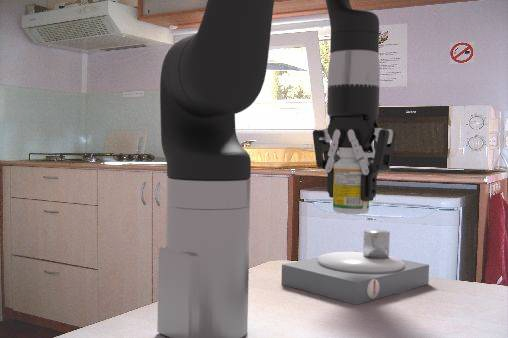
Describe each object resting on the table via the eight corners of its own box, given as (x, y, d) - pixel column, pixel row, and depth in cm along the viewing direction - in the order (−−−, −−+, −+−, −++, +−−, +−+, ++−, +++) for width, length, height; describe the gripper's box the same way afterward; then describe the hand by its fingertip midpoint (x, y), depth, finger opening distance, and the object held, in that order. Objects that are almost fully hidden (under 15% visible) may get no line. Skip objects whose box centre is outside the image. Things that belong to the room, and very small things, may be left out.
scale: (358, 305, 76) (359, 278, 76) (281, 284, 87) (282, 260, 86) (430, 284, 88) (431, 261, 88) (355, 268, 99) (355, 247, 99)
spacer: (379, 260, 88) (379, 234, 88) (357, 256, 91) (358, 231, 91) (394, 257, 91) (394, 232, 90) (373, 253, 94) (373, 228, 93)
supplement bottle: (352, 215, 82) (354, 147, 81) (325, 211, 86) (326, 147, 86) (376, 212, 85) (378, 148, 85) (349, 209, 89) (350, 147, 89)
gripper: (410, 83, 82) (406, 202, 83) (332, 89, 92) (330, 194, 93) (379, 79, 77) (375, 205, 78) (300, 85, 87) (298, 196, 88)
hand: (350, 198), depth 86 cm, fingers closed on supplement bottle, 5 cm apart
